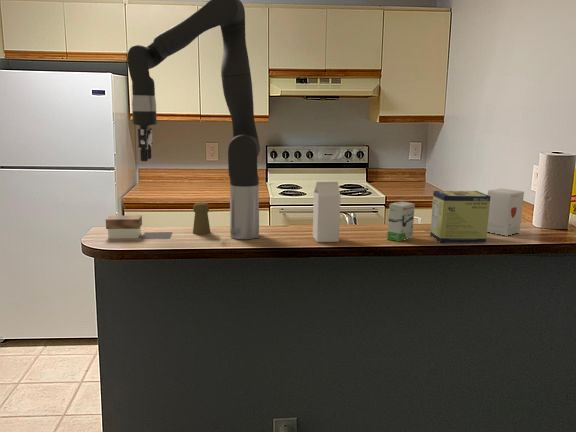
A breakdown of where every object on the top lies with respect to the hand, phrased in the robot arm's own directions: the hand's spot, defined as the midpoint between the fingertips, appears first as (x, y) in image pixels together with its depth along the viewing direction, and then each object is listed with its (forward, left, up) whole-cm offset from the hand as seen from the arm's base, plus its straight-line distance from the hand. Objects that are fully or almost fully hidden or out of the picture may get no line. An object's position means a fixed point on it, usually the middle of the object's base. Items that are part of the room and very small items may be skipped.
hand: (146, 159), depth 174 cm
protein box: (-102, +18, -24) cm, 106 cm away
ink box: (-83, +16, -24) cm, 88 cm away
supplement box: (-122, +10, -24) cm, 125 cm away
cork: (-18, +8, -24) cm, 31 cm away
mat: (-4, +11, -24) cm, 27 cm away
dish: (+6, +11, -24) cm, 27 cm away
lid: (+6, +11, -20) cm, 24 cm away
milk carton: (-58, +16, -24) cm, 65 cm away
